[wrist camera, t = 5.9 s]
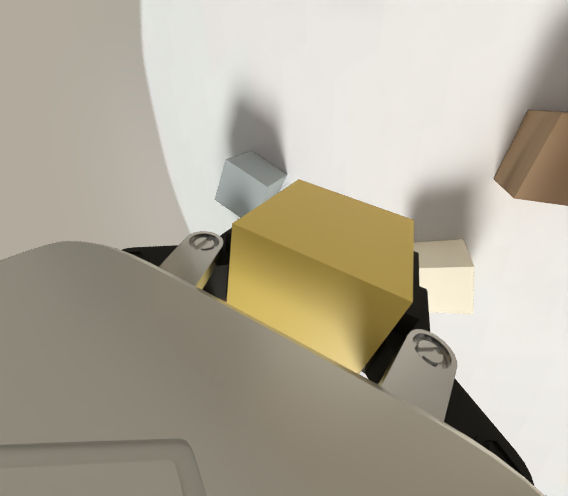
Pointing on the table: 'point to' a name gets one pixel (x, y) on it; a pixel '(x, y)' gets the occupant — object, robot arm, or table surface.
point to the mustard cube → (323, 270)
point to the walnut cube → (538, 159)
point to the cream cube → (446, 275)
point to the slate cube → (248, 183)
